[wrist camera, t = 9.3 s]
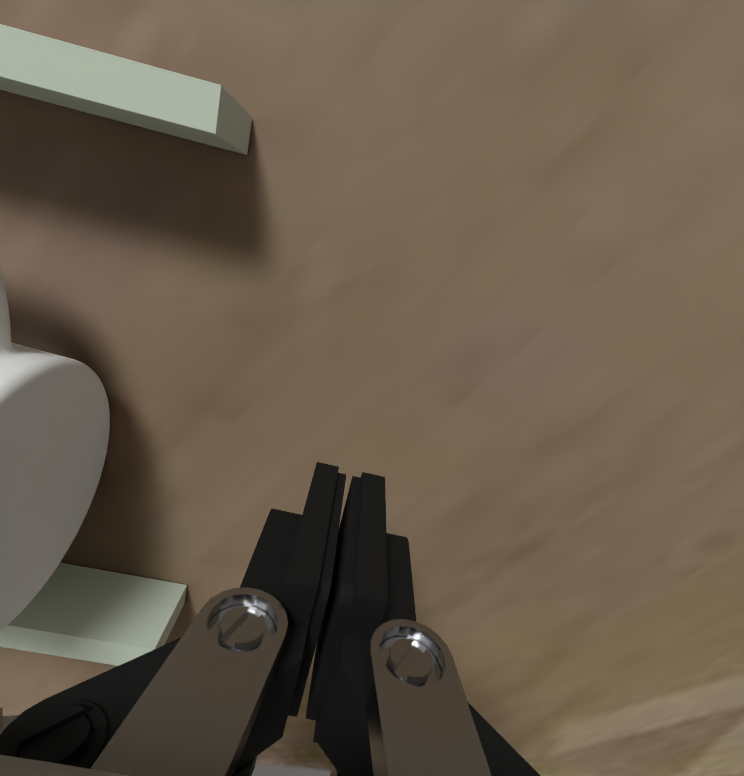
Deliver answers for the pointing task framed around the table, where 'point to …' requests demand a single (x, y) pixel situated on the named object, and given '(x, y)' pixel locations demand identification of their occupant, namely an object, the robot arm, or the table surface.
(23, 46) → the green u-shaped bracket
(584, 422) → the table surface
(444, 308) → the table surface
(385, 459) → the table surface
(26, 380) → the mug
